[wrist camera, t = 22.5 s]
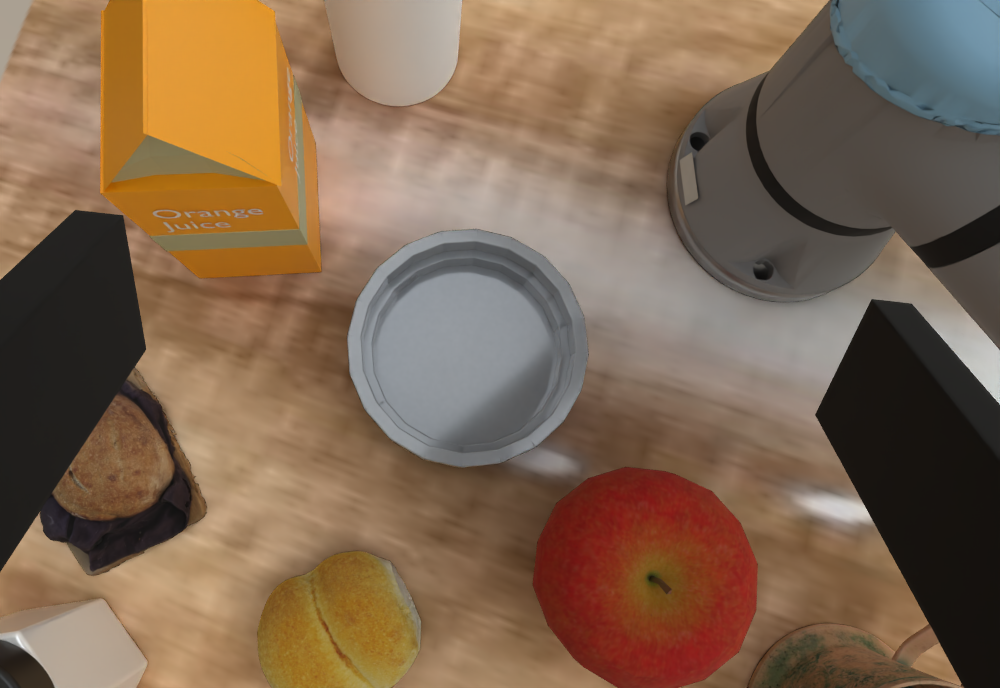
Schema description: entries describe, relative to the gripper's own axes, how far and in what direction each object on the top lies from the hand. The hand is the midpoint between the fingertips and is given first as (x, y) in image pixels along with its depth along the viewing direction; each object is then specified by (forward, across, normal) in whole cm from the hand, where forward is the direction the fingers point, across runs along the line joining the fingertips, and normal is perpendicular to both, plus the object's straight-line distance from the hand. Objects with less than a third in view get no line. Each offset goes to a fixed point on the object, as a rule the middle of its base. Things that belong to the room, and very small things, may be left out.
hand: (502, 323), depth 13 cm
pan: (+27, +1, -20) cm, 34 cm away
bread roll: (+15, -5, -32) cm, 36 cm away
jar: (+13, -20, -35) cm, 42 cm away
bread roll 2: (+21, -20, -27) cm, 39 cm away
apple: (+19, +10, -29) cm, 36 cm away
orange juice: (+33, -13, -15) cm, 39 cm away
